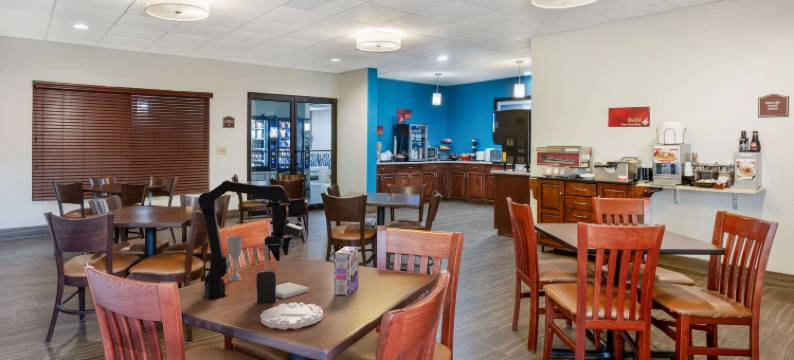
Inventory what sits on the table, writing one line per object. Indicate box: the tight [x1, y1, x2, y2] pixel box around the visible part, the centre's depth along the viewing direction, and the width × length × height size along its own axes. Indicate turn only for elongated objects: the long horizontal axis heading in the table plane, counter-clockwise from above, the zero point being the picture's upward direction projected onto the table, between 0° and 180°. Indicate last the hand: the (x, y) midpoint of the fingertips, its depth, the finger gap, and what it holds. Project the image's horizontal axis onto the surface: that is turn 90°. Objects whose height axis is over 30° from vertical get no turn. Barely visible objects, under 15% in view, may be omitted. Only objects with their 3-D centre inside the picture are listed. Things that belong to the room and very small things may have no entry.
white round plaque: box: [260, 302, 324, 330], centre depth 161 cm, size 20×20×3 cm
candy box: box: [333, 246, 359, 297], centre depth 192 cm, size 14×6×16 cm, turn 168°
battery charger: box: [255, 269, 277, 304], centre depth 179 cm, size 7×4×11 cm, turn 102°
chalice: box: [225, 235, 243, 282], centre depth 209 cm, size 7×7×18 cm
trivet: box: [276, 282, 309, 299], centre depth 191 cm, size 12×12×2 cm
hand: (282, 258), depth 190 cm, fingers open, 9 cm apart
